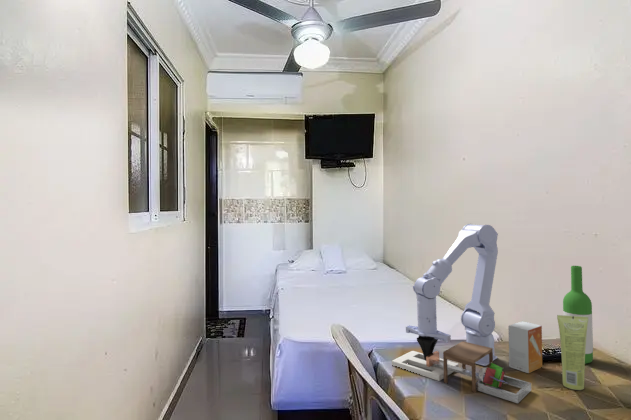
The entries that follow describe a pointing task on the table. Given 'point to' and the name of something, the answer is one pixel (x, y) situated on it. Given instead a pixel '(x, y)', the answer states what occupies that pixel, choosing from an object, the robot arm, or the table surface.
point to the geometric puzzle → (492, 375)
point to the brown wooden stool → (466, 358)
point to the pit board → (421, 365)
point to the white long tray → (525, 386)
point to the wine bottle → (580, 307)
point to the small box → (525, 346)
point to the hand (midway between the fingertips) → (428, 360)
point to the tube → (573, 349)
